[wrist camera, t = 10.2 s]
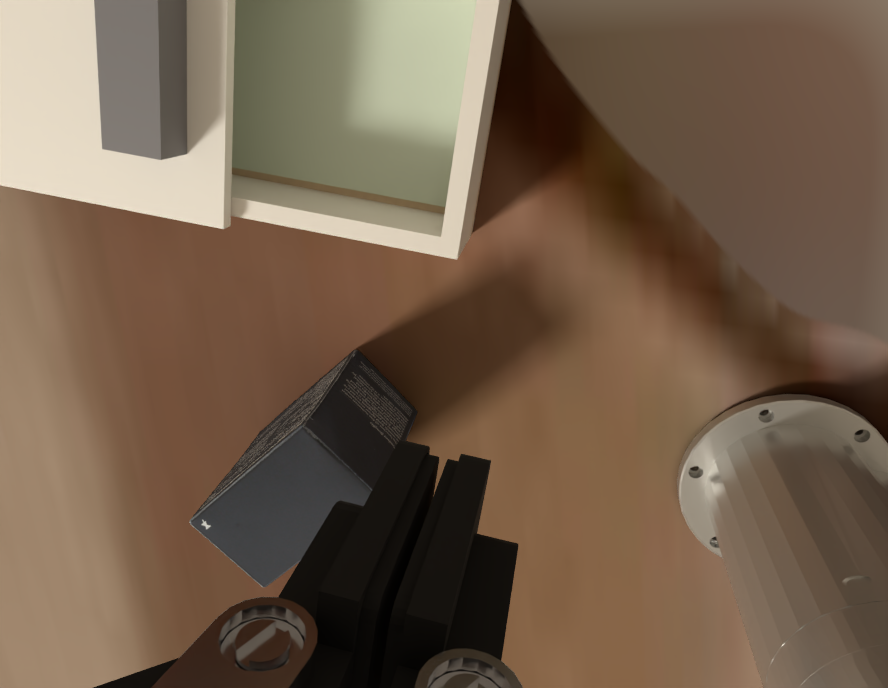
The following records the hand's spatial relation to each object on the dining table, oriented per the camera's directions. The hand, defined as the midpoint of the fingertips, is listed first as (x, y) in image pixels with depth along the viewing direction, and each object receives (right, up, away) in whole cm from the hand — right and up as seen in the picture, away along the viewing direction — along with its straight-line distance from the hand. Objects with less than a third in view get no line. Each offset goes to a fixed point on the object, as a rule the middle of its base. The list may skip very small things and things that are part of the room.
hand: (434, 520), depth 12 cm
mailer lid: (-20, +19, +24) cm, 37 cm away
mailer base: (-7, +18, +26) cm, 33 cm away
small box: (-7, -2, +35) cm, 36 cm away
